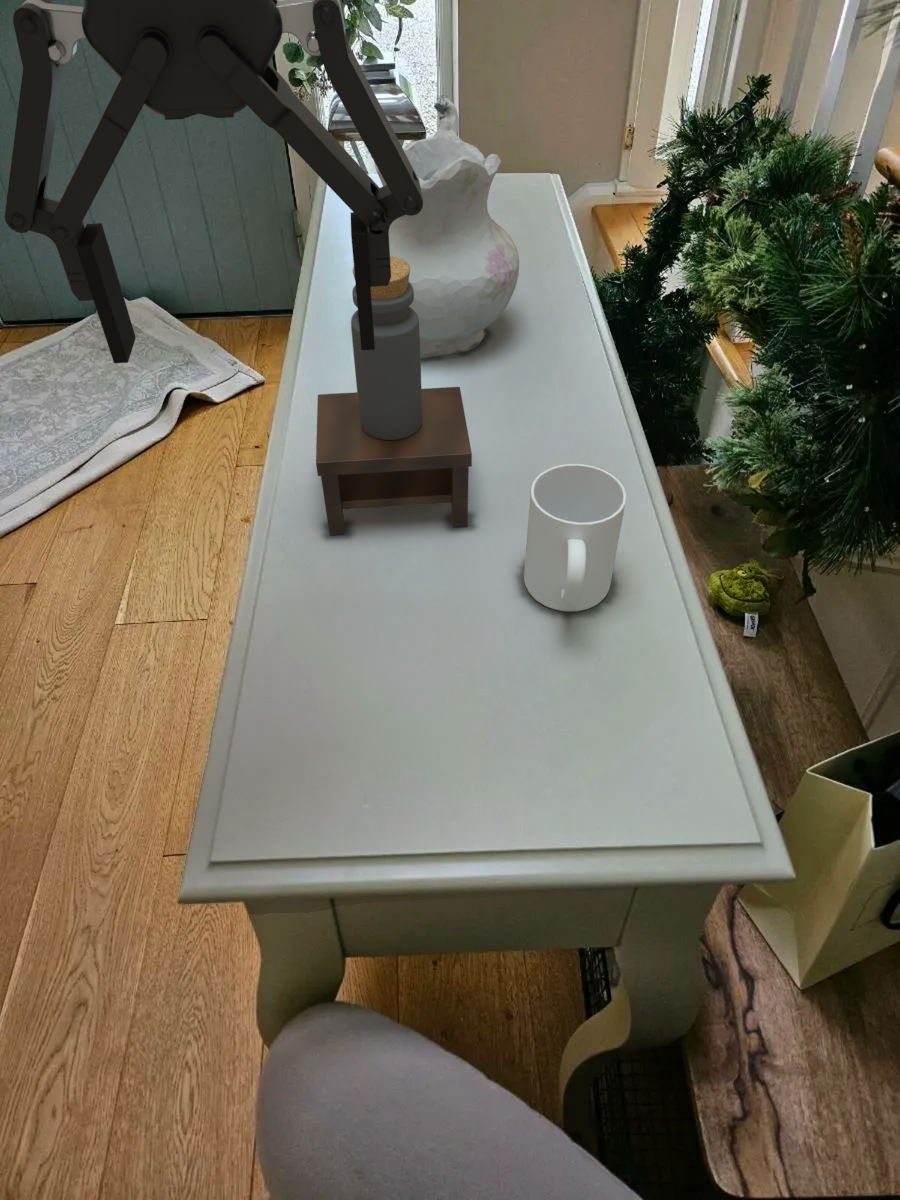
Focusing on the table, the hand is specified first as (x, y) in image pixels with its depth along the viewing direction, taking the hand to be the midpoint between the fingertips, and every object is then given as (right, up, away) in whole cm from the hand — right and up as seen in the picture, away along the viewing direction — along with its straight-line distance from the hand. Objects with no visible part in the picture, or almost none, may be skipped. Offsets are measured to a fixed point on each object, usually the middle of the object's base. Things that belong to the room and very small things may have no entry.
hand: (247, 344), depth 49 cm
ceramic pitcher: (+10, +20, +62) cm, 66 cm away
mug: (+22, -15, +29) cm, 39 cm away
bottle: (+6, +2, +32) cm, 33 cm away
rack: (+6, -4, +39) cm, 39 cm away
